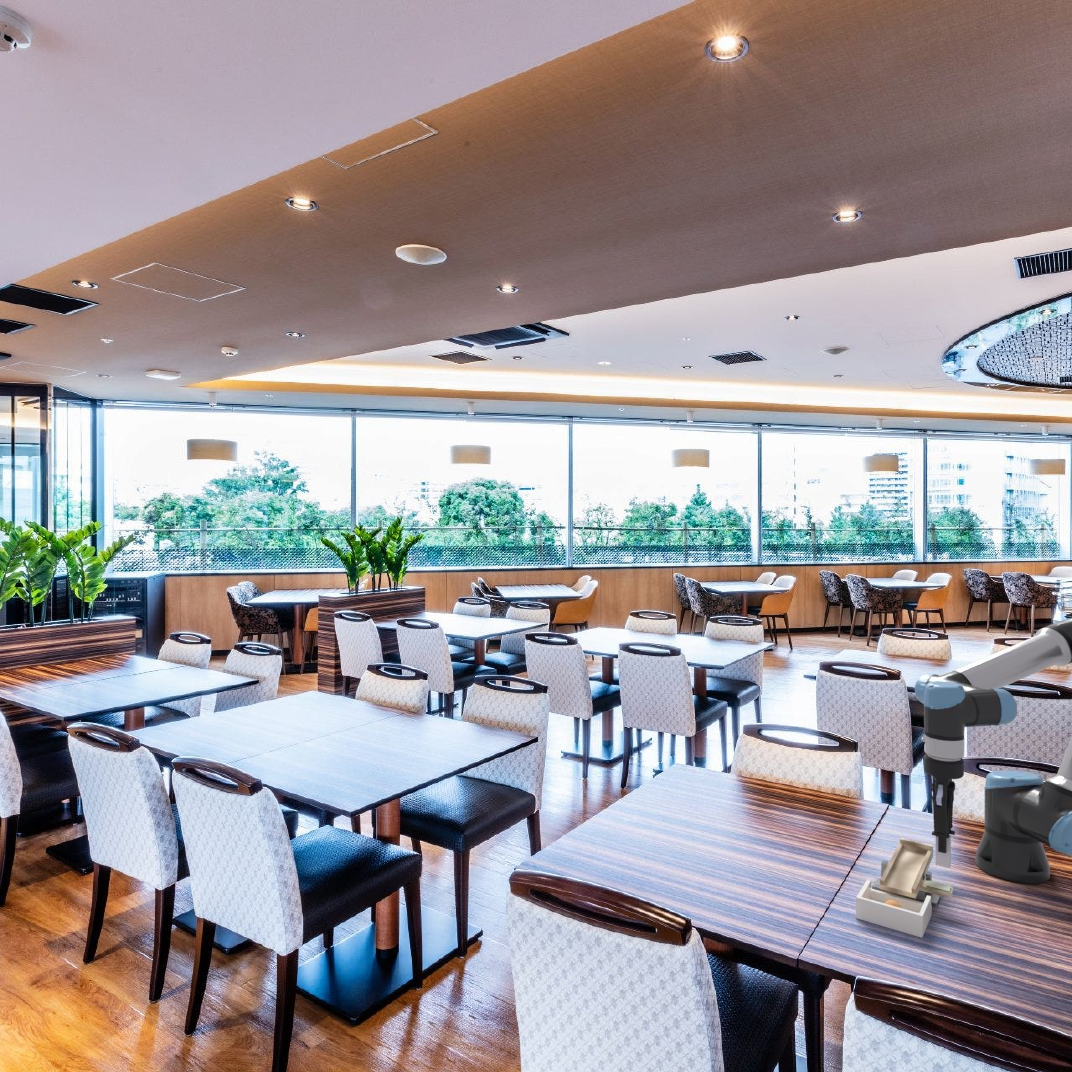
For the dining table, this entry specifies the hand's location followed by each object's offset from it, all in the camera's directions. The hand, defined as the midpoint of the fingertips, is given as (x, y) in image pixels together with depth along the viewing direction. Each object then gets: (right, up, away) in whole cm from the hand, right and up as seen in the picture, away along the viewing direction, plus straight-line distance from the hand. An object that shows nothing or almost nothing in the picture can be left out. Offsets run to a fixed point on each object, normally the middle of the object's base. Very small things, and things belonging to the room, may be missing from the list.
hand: (943, 865), depth 163 cm
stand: (-4, -9, +7) cm, 13 cm away
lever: (-1, -5, +7) cm, 9 cm away
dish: (-12, -10, -3) cm, 15 cm away
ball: (-13, -8, -4) cm, 15 cm away
